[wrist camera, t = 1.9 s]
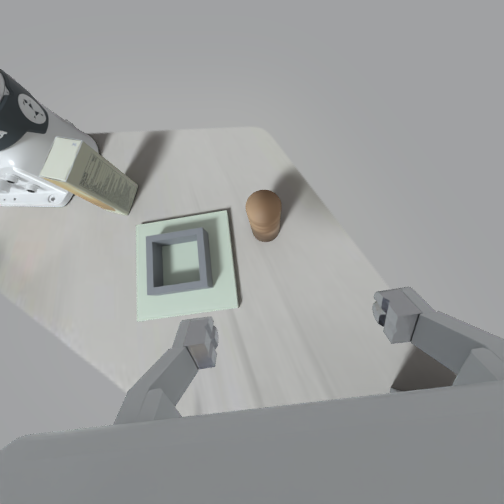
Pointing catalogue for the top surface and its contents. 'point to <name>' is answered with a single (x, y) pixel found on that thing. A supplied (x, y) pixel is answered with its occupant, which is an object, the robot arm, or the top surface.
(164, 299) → the collar holder
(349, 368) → the top surface
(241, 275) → the top surface
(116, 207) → the skincare box
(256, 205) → the brown dome-topped peg
